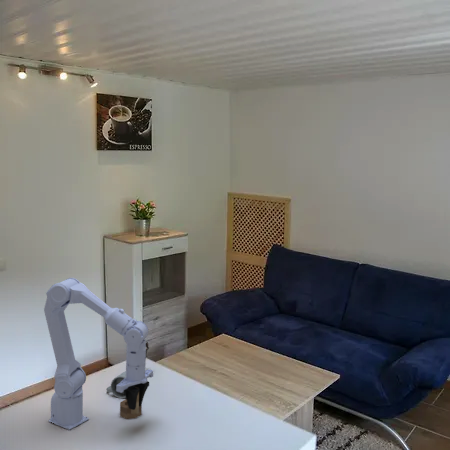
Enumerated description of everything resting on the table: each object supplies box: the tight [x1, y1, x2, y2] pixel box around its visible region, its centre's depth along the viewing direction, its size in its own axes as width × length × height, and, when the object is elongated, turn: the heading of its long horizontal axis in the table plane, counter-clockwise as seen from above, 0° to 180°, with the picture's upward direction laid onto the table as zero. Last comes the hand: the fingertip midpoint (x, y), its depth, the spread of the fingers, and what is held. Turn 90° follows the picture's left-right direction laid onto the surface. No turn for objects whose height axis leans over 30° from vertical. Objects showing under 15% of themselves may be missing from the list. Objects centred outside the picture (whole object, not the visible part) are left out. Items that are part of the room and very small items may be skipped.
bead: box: [119, 398, 143, 420], centre depth 155 cm, size 7×7×4 cm
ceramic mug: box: [106, 371, 126, 399], centre depth 170 cm, size 11×8×8 cm
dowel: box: [131, 387, 139, 414], centre depth 146 cm, size 2×2×8 cm
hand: (135, 406), depth 146 cm, fingers closed on dowel, 2 cm apart
